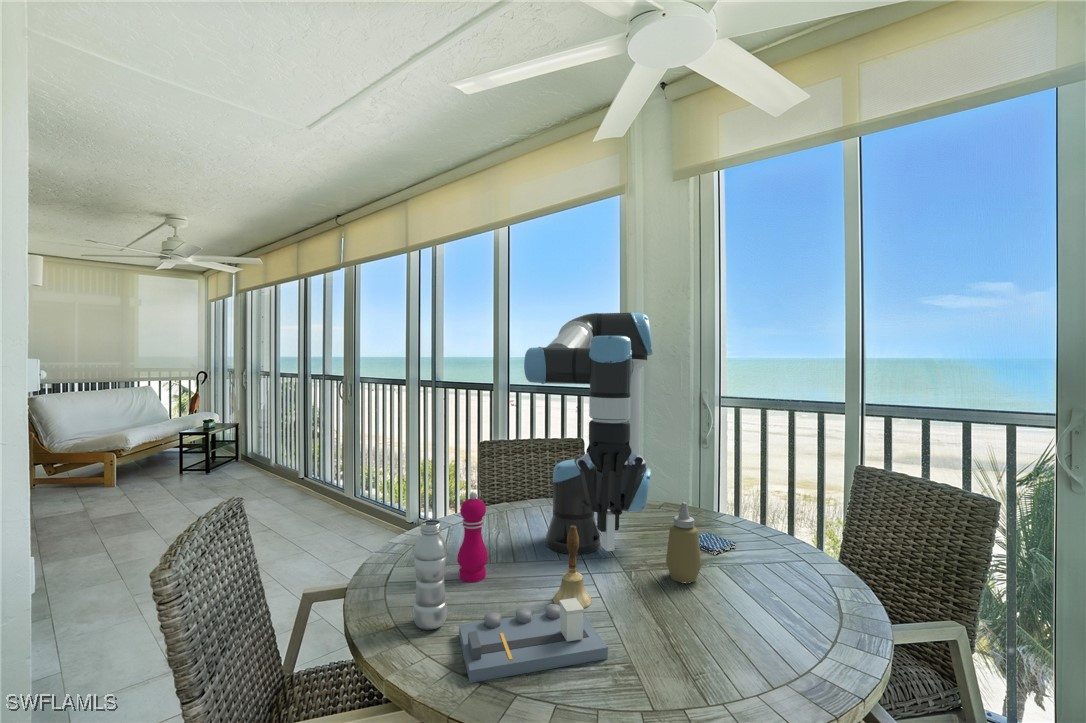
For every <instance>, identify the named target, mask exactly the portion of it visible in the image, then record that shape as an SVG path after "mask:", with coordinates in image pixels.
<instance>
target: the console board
mask: <svg viewBox="0 0 1086 723" xmlns="http://www.w3.org/2000/svg"><path fill="white" fill-rule="evenodd" d="M458 629H459V630H458V636H459V641H460V645H461V650H462V655H463V659H464V660H463V661H464V664H465V668H466V672H467V678H468V683H470V684H471V683H478V682H482V681H490V680H493V679H499V678H505V677H506V678H507V677H511V676H516V675H517V676H518V675H523V674H524V675H525V674H528V673H534V672H540V671H546V670H549V669H550V670H551V669H556V668H563V667H567V666H573V665H580V664H585V663H591V662H597V661H602V660H608V658H609V656H608V655H609V648H608V645H607V644H606V642H605V641H604V640H603V638H602V637H601V636H600V635H599V633H598V631H597V629H595V627H594V626H593V625H592V622H591V621H590V620H589V619H588V617H587V616H586V615H585V613H583V639H580V640H574V641H568V642H567V641H566V639H565V638H564V636H563V634H562V633H561V631H560V606H559V605H557V604H555V603H551V604H547V605H546V606H545V612H539V613H534V614H532V611H531V609H530V608H528V607H527V608H526V607H521V608H517V609H516V610H515V616H513V617H506V618H505V617H504V618H501V614H500V613H498V612H495V611H494V612H488V613H486V614H484V619H483V621H476V622H470V623H469V622H468V623H463V624H462V623H461V624H459V625H458Z"/></svg>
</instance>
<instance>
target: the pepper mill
mask: <svg viewBox="0 0 1086 723" xmlns="http://www.w3.org/2000/svg"><path fill="white" fill-rule="evenodd" d="M486 507H487V506H486V504H485V502H484V501H483V500H482V499H479V498H478V494H477V493H476V492H474V491H473V492H470V494H469V498H468V499H466V500H464V501H463V502H462V503H461V506H460V513H459V514H460V515H461V517H462V518H463V519H462V527H463V529H464V530H463V531H464V533H463V540H462V543H461V546H460V548H458V553H457V558H456V560H457V564H458V565H459V566H460V568H459V572H458V574H459V579H460V580H461V581H463V582H465V583H476V582H481V581H483V580H485V578H486V576H487V568H486V566H485V565H486V564H487V563H488V561H489V553H488V550H487V547H486V545H485V542H484V539H483V534H482V529H483V526H484V516H485V514H486V513H487V508H486Z"/></svg>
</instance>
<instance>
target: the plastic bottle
mask: <svg viewBox="0 0 1086 723" xmlns="http://www.w3.org/2000/svg"><path fill="white" fill-rule="evenodd" d="M441 531H442V528H441V521H440V520H438V519H426V520H423V521H421V524H420V534H421V536H420V537H419V538H418V539H417V541H416V542H415V544H414V548H413V553H412V554H413V561H414V566H415V568H414V569H415V582H416V584H415V586H416V587H415V598H414V603H413V607H412V608H413V610H412V617H413V622H414V623H415V625H416V626H417V628H418V629H420V630H424V631H425V630H426V631H427V630H428V631H429V630H430V631H431V630H435V629H438V628H440V627H442V626H443V625H444V623H445V622H446V621H447V618H448V604H447V598H446V588H445V575H446V574H445V572H446V563H447V556H448V555H447V554H448V547H447V543H446V542H445V540H444V538H443V537H442V536H441V535H440V533H441Z"/></svg>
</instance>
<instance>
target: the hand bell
mask: <svg viewBox="0 0 1086 723" xmlns="http://www.w3.org/2000/svg"><path fill="white" fill-rule="evenodd" d="M578 547H579V536H578V532H577V529H576V526H570V530H569V533H568V536H567V548H568V552H569V554H568V569H567V571H566V572H565V573H563V574H562V576H561V583H560V586H559V590H558V591H556V593H555V594H554V595H553V599H552V601H553V604H557V605H559V606H560V604H559V600H564V599H571V598H576V599H577V600H578V602H579V603H580V604H581V606H582V607H583V608H584V609H586V608H588V607H589V606H591V604H592V602H593V601H592V597H591V596H590V594H589V593H588V592H587V590H586V588H585V584H584V576H583V575H582V574H581V573H580V572H578V571H577V555H578V554H577V551H578Z"/></svg>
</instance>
